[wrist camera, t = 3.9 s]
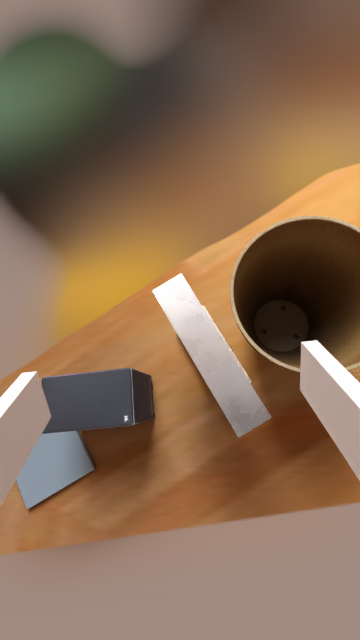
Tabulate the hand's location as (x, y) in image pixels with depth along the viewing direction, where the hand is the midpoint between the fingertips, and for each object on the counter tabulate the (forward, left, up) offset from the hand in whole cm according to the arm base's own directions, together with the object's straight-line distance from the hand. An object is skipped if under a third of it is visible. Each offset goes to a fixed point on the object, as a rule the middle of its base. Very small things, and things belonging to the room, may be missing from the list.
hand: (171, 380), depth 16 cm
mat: (+22, -5, -28) cm, 36 cm away
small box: (+11, -5, -28) cm, 31 cm away
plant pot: (-14, -2, -28) cm, 32 cm away
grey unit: (-3, -2, -28) cm, 28 cm away
